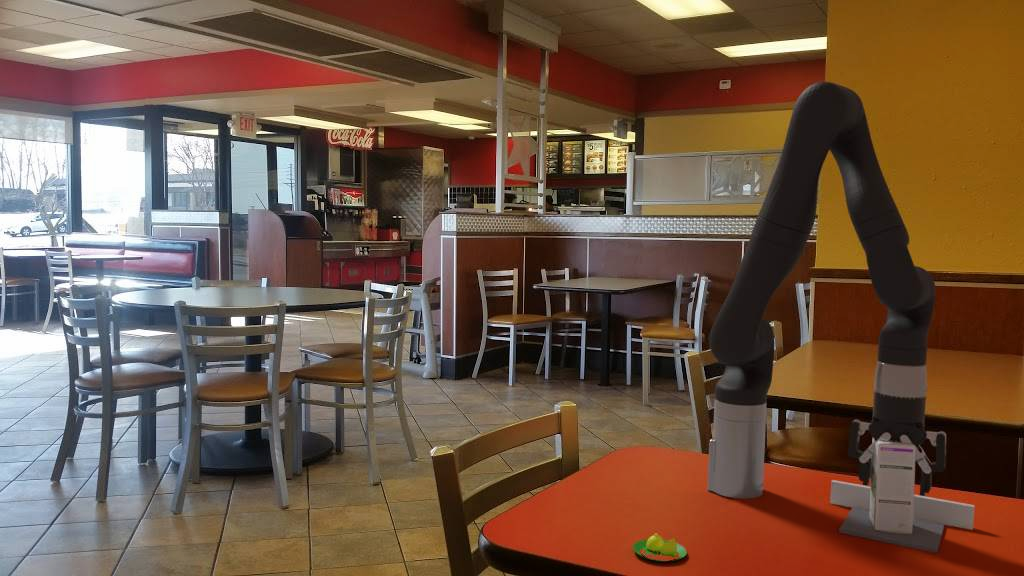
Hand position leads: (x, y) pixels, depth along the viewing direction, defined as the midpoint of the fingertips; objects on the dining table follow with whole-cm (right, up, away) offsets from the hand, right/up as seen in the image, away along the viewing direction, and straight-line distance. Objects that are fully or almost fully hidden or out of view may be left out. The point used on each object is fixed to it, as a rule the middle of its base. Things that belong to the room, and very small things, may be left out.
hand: (894, 489), depth 129 cm
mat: (0, -7, +1) cm, 7 cm away
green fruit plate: (-40, -8, -9) cm, 41 cm away
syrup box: (0, -6, +1) cm, 6 cm away
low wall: (+4, -6, +7) cm, 11 cm away
